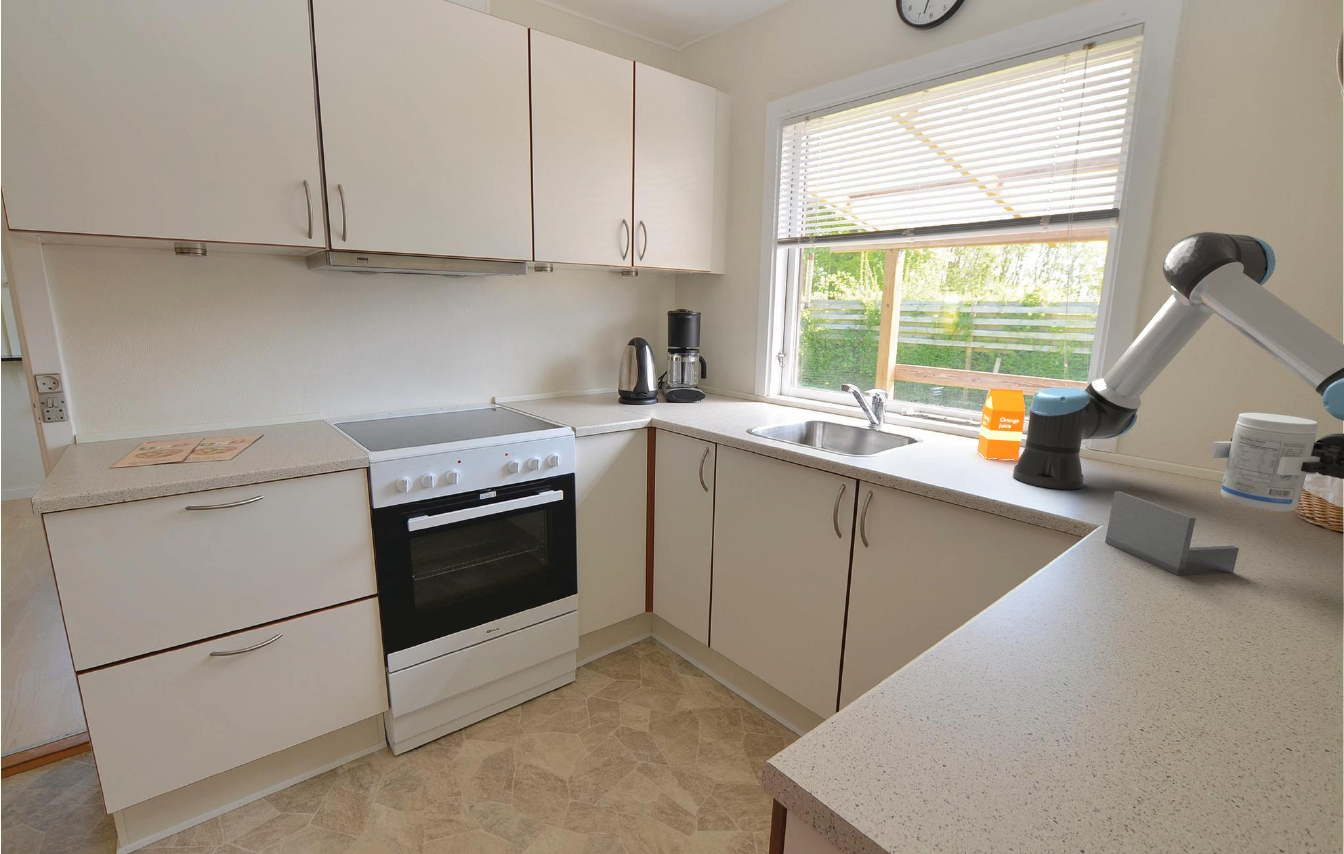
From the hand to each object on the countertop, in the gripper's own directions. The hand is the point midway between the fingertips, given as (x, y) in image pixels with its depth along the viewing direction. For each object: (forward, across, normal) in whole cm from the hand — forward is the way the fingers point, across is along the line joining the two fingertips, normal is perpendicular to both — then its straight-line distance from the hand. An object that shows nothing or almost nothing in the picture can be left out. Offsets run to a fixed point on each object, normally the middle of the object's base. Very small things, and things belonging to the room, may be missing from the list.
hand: (1245, 457), depth 98 cm
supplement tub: (-4, 0, -8) cm, 9 cm away
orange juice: (-15, +74, -20) cm, 78 cm away
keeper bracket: (+5, +5, -20) cm, 21 cm away
